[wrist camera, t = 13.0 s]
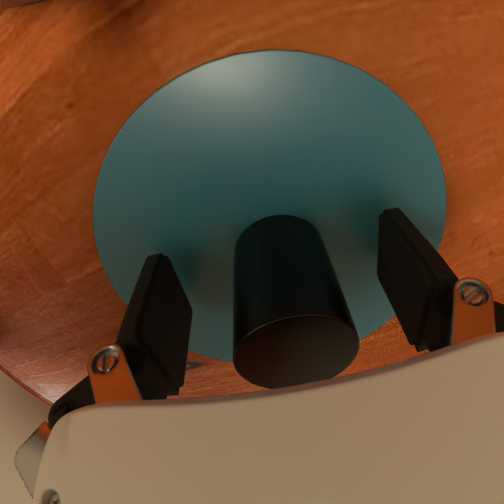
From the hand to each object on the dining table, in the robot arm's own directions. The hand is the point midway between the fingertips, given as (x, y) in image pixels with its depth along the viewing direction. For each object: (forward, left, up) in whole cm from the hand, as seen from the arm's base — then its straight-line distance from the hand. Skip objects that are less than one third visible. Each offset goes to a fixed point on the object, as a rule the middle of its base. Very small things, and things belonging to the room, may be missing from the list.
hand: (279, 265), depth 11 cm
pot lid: (0, 0, -1) cm, 1 cm away
